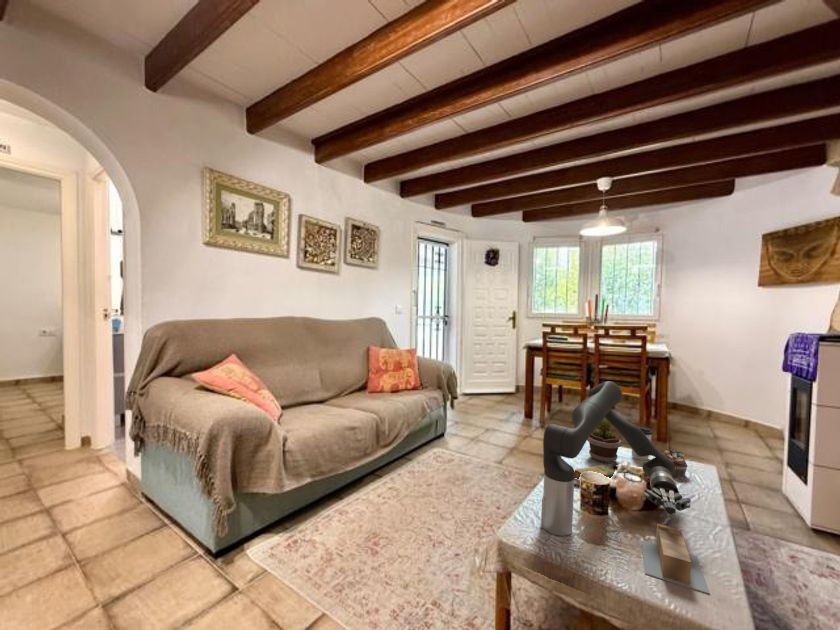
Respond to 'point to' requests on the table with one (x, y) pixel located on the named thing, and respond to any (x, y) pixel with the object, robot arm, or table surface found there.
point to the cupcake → (677, 462)
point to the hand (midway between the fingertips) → (670, 511)
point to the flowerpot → (604, 443)
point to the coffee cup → (648, 434)
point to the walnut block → (673, 554)
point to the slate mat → (654, 570)
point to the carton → (598, 469)
